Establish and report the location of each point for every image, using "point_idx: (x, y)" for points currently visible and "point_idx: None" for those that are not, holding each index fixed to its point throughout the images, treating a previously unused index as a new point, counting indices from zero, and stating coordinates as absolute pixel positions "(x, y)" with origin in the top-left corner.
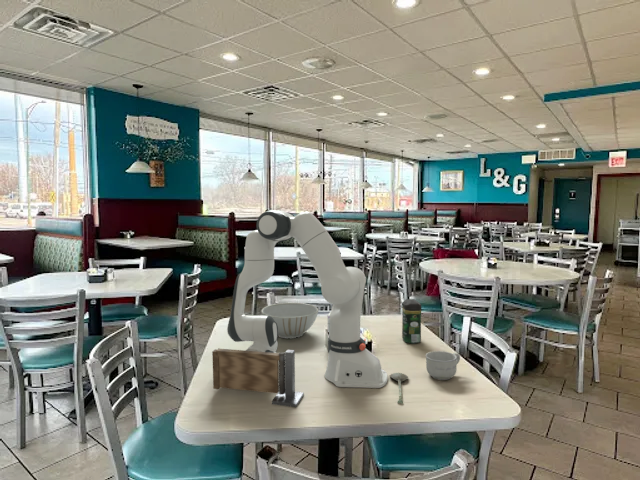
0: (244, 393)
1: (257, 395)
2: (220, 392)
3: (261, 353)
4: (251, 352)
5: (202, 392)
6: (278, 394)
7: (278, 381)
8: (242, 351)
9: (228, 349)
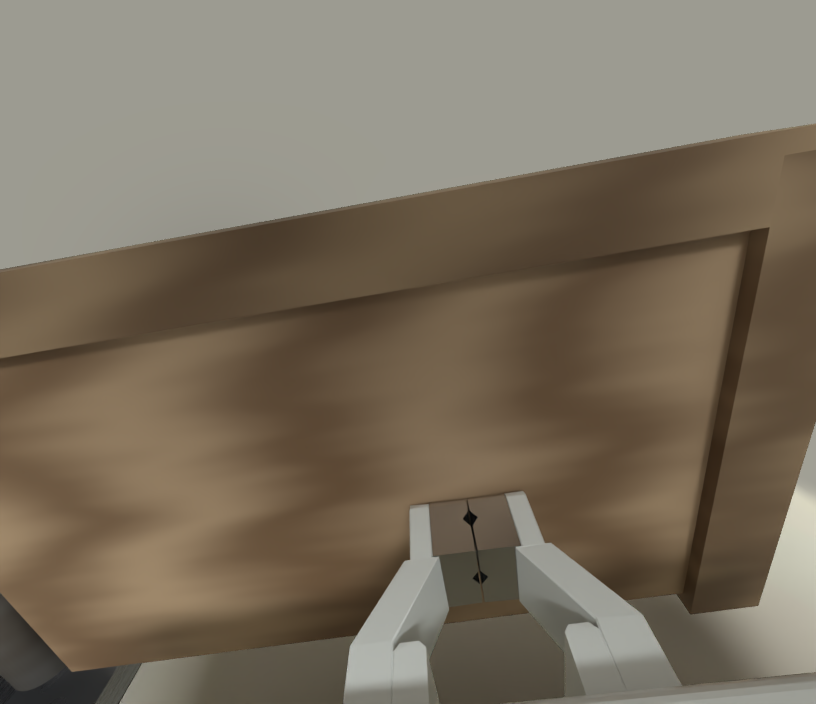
0: (437, 681)
1: (301, 682)
2: (668, 618)
3: (40, 262)
4: (187, 236)
5: (809, 562)
6: (88, 693)
7: (17, 598)
8: (333, 210)
9: (612, 160)
